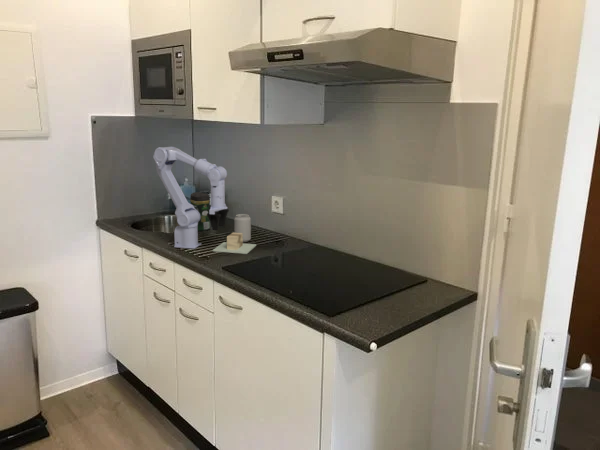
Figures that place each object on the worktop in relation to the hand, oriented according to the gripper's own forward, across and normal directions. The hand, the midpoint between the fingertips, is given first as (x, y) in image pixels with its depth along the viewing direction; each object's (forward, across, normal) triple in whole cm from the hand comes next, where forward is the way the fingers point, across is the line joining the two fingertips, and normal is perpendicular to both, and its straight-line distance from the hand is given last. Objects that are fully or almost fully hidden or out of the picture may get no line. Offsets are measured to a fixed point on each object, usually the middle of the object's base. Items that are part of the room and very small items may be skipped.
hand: (218, 228), depth 204 cm
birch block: (+9, +4, -6) cm, 11 cm away
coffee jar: (+10, +34, +22) cm, 42 cm away
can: (+10, +18, -5) cm, 21 cm away
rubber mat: (+9, +4, -6) cm, 12 cm away
